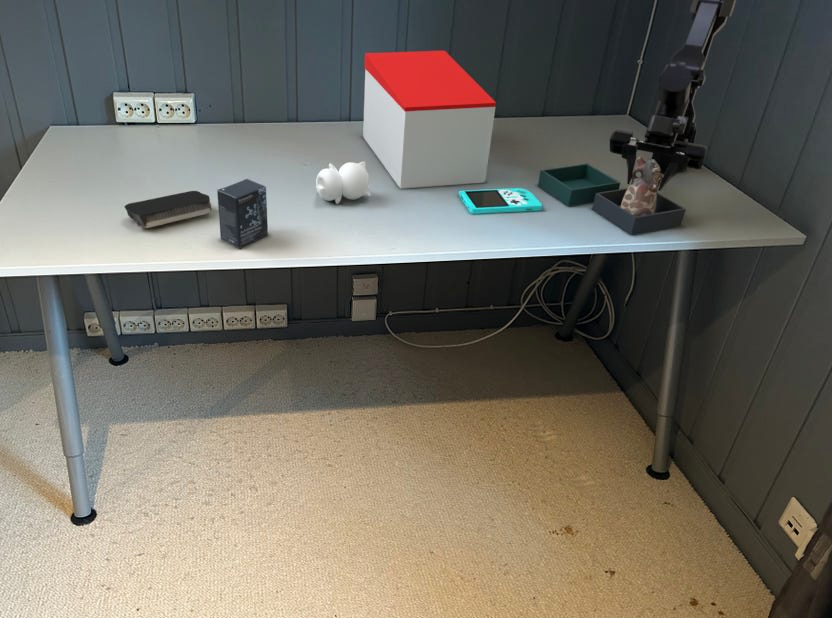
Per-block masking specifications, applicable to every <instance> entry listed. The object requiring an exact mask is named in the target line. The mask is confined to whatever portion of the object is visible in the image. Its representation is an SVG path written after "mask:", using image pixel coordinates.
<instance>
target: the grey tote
mask: <svg viewBox="0 0 832 618" xmlns="http://www.w3.org/2000/svg"><path fill="white" fill-rule="evenodd" d="M627 189H628V187H626V188H619V190H613V191H607V192H600V193H596V194H595V198H594V202H593V203H592V207H591V210H592V211H594V212H595V213H596V214H598V215H599V216H601V217H602V218H604V219H605V220H607V221H609V222H610V223H612V224H614V225H615V226H616V227H618V228H619V229H621V230H622V231H624V232H625V233H627V234H628V235H630V236H633V235H640V234H645V233H650V232H655V231H660V230H665V229H671V228H678V227H682V224H683V221H684V218H685V214H686V211H687V209H686V208H685V207H683V206H681V205H680V204H677V203H676V202H674V201H673V200H671V199H669V198H667V197H666V196H664V195H662V194H660V193H659V192H657V198H656V210H655V214H649V215H643V216H637V217H635V216H634V215H632V214H631V213H629V212H627V211H626V210H624V209H623V208H621V203H622V200H623V198H624V195H625V193H626V191H627Z"/></svg>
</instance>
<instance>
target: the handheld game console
mask: <svg viewBox="0 0 832 618" xmlns="http://www.w3.org/2000/svg"><path fill="white" fill-rule="evenodd" d="M458 197H459V198H460V199H461V201H462V203H463V204H464V206H465V207H466V209H467V210H468V211H469V213H470V214H472V215H476V214H478V215H481V214H497V213H517V212H536V211H542V209H543V204H542V203H541V202H540V201H539V199H538V198H537V197H536V196H535V195H534V194H533V193H532V192H531V191H529V190H528V189H526V188H521V187H509V188H489V189H488V188H487V189H468V190H459V193H458Z"/></svg>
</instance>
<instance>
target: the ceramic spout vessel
mask: <svg viewBox="0 0 832 618" xmlns="http://www.w3.org/2000/svg"><path fill="white" fill-rule="evenodd" d="M636 162H637V164H638V165H637V166H636V167H634V170H633V172H632V179H631V181H630V184H629V185H628V187H627V188H628V189H627V191H626V193H625V195H624V198H623V200H622V203H621V206H620V207H621V208H623V209H624V210H626V211H627V212H629V213H631V214H632V215H634V216H635V217H637V216H643V215H649V214H655V213H656V212H655V210H656V198H657V193H658V189H659V186H660V183H661V180H662V178H663V176H662V174H661V172H660V171H661V170H660V167H659V165H658V163H657V162H656V161H655V160H654V159H652V158H650V159H648V160H647V161H645V160H644V158H643V157H642V156H639V157H636ZM637 173H640V174H641V175H640V176H637Z"/></svg>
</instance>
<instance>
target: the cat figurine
mask: <svg viewBox="0 0 832 618" xmlns="http://www.w3.org/2000/svg"><path fill="white" fill-rule="evenodd" d="M315 189H316V190H317V194H318V195H319V196H320V197H321V198H322V199H323V200H325V201H334V202H335V204H336V205H338V204H339V203H340V202H341V200H342V196H343V197H344V198H345V199H347V200H351V201H353V200H358V199H360V198H362V197H368V198H369V197H371V196H372V193H371V190H370V176H369V173H368V171H367V168H366V161H364V160H363V161H361V162H359V163H357V162H352V161H351V162H345V163H344V164H342V166H341V167H339V170H338V169H337V168H336V166H334V164H333V163H328V167H327V168H323V169H321V170H320V171H319V172H318V174H317V175H316V179H315Z"/></svg>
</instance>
